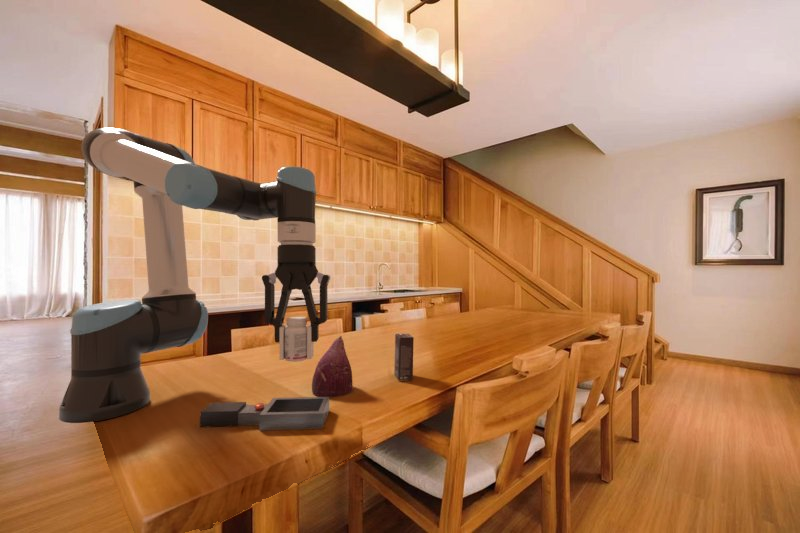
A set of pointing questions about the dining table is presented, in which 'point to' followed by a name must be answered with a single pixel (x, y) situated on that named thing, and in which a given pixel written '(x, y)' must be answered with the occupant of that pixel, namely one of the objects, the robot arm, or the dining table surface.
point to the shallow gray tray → (269, 414)
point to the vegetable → (333, 372)
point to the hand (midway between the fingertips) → (296, 357)
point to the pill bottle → (296, 339)
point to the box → (403, 357)
